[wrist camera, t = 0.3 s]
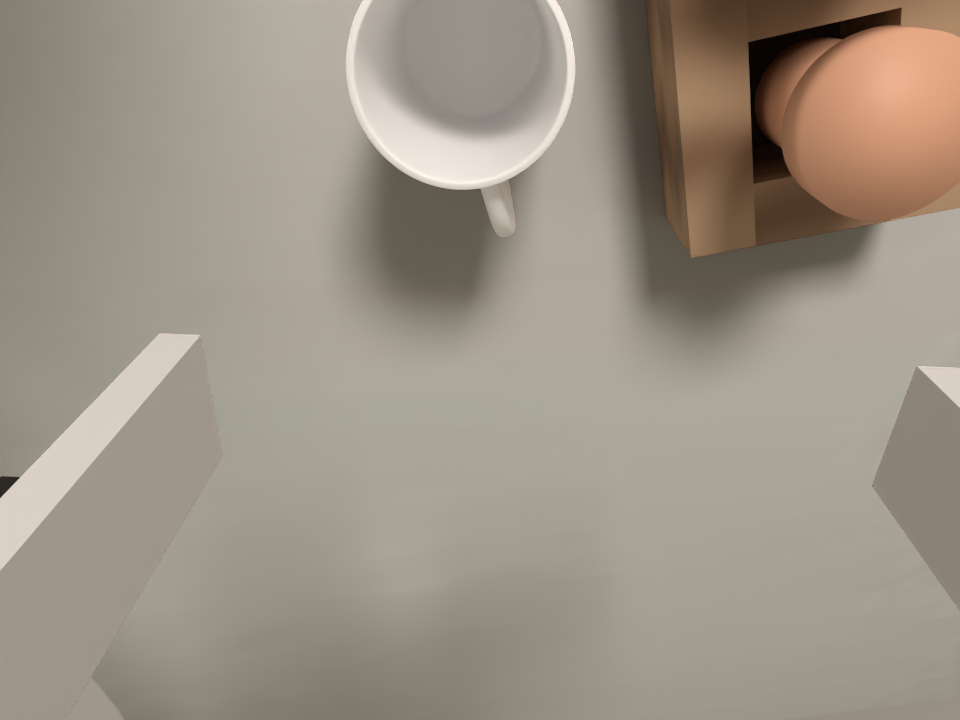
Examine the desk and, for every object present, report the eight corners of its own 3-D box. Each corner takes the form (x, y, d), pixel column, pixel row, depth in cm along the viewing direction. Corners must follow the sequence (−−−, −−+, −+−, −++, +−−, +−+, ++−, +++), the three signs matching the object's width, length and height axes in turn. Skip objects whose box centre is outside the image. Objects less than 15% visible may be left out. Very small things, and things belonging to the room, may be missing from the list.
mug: (573, 183, 38) (597, 263, 28) (418, 204, 39) (385, 289, 29) (552, -69, 33) (572, -88, 22) (372, -38, 34) (310, -43, 23)
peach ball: (732, 35, 30) (799, 54, 23) (889, -1, 30) (1007, 7, 23) (739, 180, 33) (800, 236, 26) (882, 151, 33) (984, 201, 26)
